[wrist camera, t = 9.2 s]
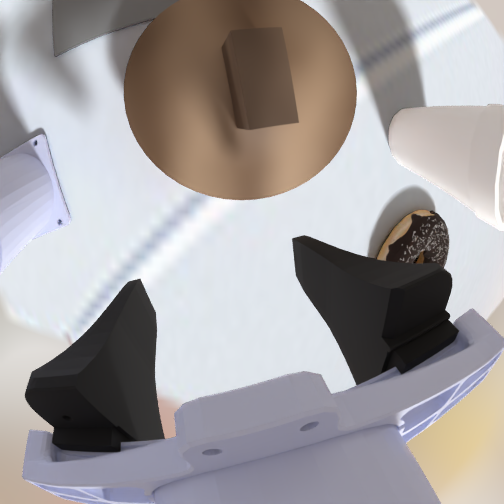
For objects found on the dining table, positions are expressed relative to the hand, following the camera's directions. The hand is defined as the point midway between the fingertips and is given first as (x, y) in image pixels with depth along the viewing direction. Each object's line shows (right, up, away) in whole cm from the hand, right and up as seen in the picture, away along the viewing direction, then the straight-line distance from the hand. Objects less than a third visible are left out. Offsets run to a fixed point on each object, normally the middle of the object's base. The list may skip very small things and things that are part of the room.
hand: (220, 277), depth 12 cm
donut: (+20, +1, +17) cm, 26 cm away
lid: (+1, +11, +1) cm, 11 cm away
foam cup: (+17, +13, +10) cm, 24 cm away
